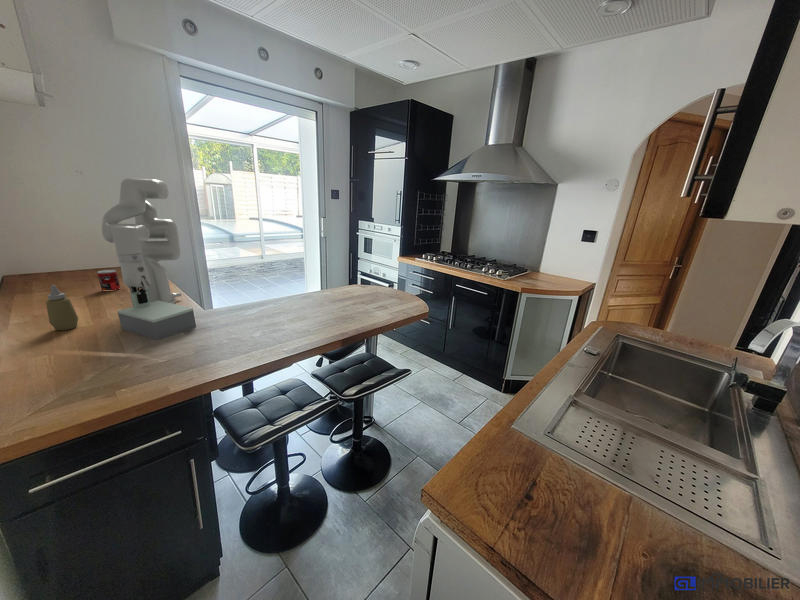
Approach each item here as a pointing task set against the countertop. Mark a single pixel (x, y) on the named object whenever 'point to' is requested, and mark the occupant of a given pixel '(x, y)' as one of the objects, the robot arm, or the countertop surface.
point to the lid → (153, 309)
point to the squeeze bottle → (60, 311)
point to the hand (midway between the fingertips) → (141, 302)
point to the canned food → (108, 279)
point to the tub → (158, 325)
